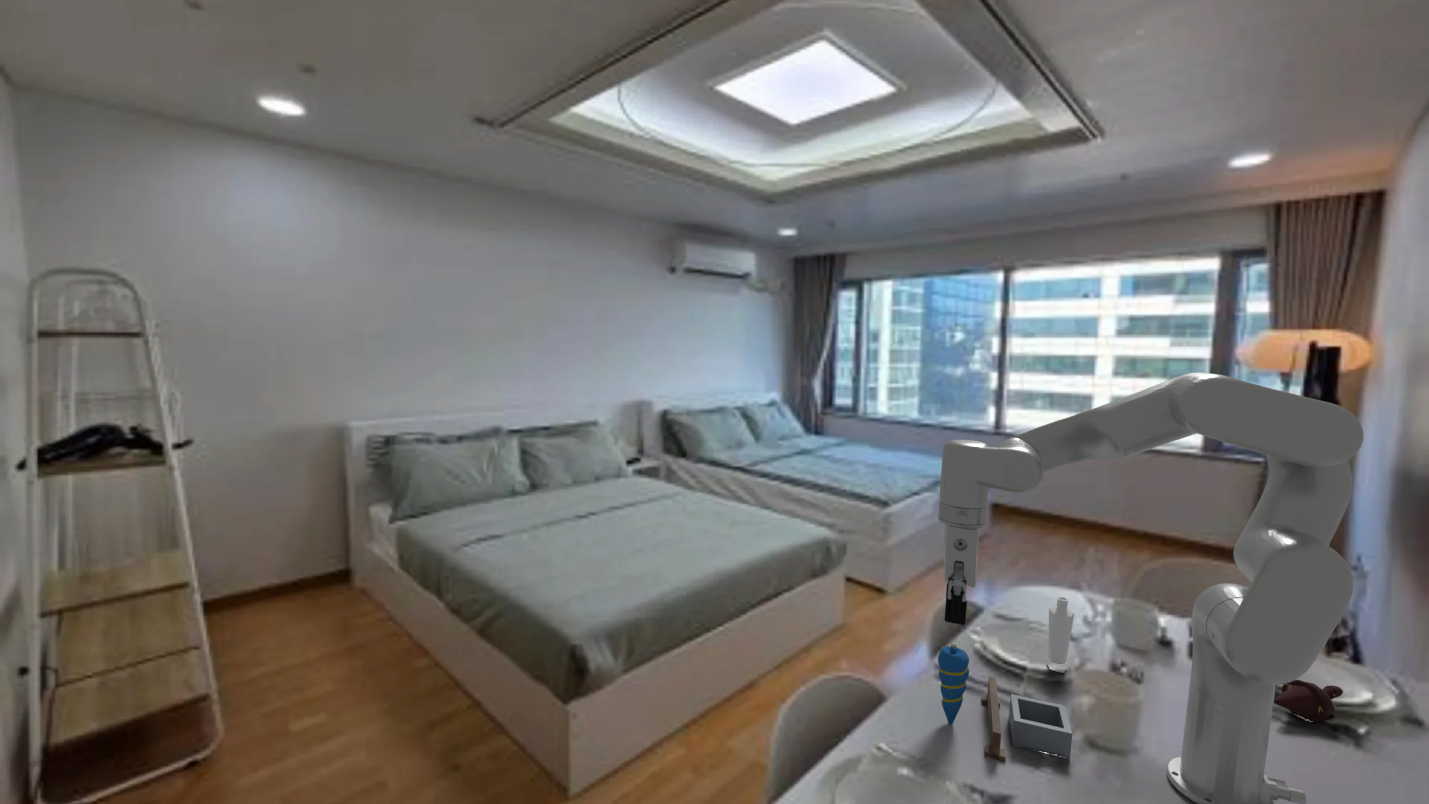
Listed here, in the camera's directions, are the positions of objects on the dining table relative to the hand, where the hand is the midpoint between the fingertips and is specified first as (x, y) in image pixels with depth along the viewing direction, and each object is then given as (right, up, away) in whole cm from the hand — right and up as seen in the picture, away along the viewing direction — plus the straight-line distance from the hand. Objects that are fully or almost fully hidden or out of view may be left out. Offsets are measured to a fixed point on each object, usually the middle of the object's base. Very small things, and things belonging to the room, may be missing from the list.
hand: (955, 611), depth 107 cm
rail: (+7, -21, +1) cm, 22 cm away
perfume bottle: (+29, -19, +22) cm, 41 cm away
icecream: (+66, -22, +7) cm, 70 cm away
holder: (+13, -21, -1) cm, 25 cm away
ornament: (0, -21, +2) cm, 21 cm away
